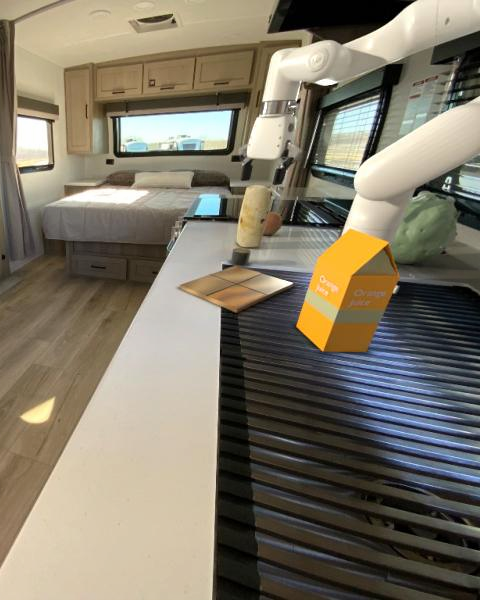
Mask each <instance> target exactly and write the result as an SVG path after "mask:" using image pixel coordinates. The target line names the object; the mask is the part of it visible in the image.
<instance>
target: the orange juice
mask: <svg viewBox="0 0 480 600" xmlns="http://www.w3.org/2000/svg"><path fill="white" fill-rule="evenodd" d="M341 235H342V234H341ZM341 235H340V237H339V238H338V239H337V240H336V241H335V242H333V244H331V246H329V247H328V248H327V249H326V250H325V251H324V252H323V253H322V254H321V255H320V256H319V257H318V258H317V261H316V263H315V267H314V269H313V273H312V276H311V279H310V282H309V285H308V288H307V291H306V294H305V297H304V302H303V304H302V307H301V310H300V313H299V316H298V319H297V323H296V325H295V326H296V328H297V329H298V330H299V331H300V332H301V333H302V334H303V335H304V336H305V337H307V338H308V339H309V341H311V342H312V343H313V344H314V345H315V346H316V347H317V348H318V349H319V350H320V351H322V352H323V353H324V352H325V353H367V351H368V349H369V347H370V344H371V342H372V340H373V338H374V337H375V334H376V331H377V329H378V327H379V325H380V324H381V321H382V319H383V316H384V314H385V312H386V309H387V307H388V304H389V302H390V300H391V298H392V295H393V291H394V289H395V287H396V285H397V284H398V282H399V280H400V277H401V275H399V272H398V269H397V265H396V262H394V259H393V256H392V253H391V250H390V247H389V244H388V243H389V242H387V241H384V240H381V239H378V238H375V237H373V236H370V235H367V234H364V233H361V232H359V231H356V230H353V229H349V230H348V231H347V232H346V233H344V234H343V235H342V236H341Z"/></svg>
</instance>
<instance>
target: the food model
mask: <svg viewBox="0 0 480 600" xmlns="http://www.w3.org/2000/svg"><path fill="white" fill-rule="evenodd" d="M272 197H273V189H272V188H270V187H267V186H265V185H263V184H262V185H260V184H253V185H248V186H247V187H246V189H245V193H244V196H243V200H242V203H241V208H240V212H239V217H238V222H237V228H236V242H237V244H238V245H239V246H240V247H241V248H254V249H255V248H258V247H260V246H261V243H262V240H263V236H264V235H263V233H264V229H265V225H266V220H267V217H268V212H270V206H271V202H272V201H271V200H272Z"/></svg>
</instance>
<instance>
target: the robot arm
mask: <svg viewBox="0 0 480 600" xmlns="http://www.w3.org/2000/svg"><path fill="white" fill-rule="evenodd" d="M479 31H480V0H416V1H414V2H412V3H411V4H409V5H407V6H406V7H405V8H403V10H402V11H400V12H399V13H398V14H397V15H396V16H395V17H394V18H393V19H391V20H390V21H388V23H386V24H385V25H383V26H382V27H380V28H378V29H376V30H374V31H372V32H370V33H368V34H366V35H363V36H360V37H359V38H356V39H353V40H351V41H349V42H346V43H343V44H341V43H339V42H337V41H335V40H333V39H325V40H320V41H316V42H314V43H311V44H307V45H304V46H300V47H289V48H283V49H279V50H277V51H275V52H274V53H273V54H272V56H271V58H270V62H269V66H268V70H267V76H266V81H265V86H264V90H263V95H262V99H261V100H262V101H261V105H260V110H259V115H258V117H256V119H255V121H254V124H253V127H252V130H251V132H250V136H249V140H248V142H247V143H245V144H243V145H241V146H240V147H239V148H238V150H237V151H238V156H239V157H238V158H239V160H240V162H241V166H242V170H241V175H240V181H241V182H247V181H250V180H251V178H252V172H253V163H254V162H255V161H256V160H263V161H264V160H267V161H275V163H276V164H277V167H278V168H276V169H275V172H274V175H273V179H272V185H273V186H278V185H280V186H281V185H282V184H283V183H284V181H285V178H286V174H287V169H289V168H290V167H291V166H292V165H293V164H294V163H295V162H296V161H297V159H298V158H299V157H300V156H301V154H302V153H303V149H301V148H300V147H299V146H297V145H296V144H294V142H295V135H296V128H297V127H296V126H297V116H296V115H294V114H295V111H298V110H299V109H300V107H301V104H300V103H298V102H297V101H298V97H299V92H300V88H301V84H302V82H303V83H304V82H305V83H312V84H317V85H319V86H329V85H334V84H337V83H338V84H339V83H341V82H344V81H346V80H350V79H352V78H356V77H358V76H361V75H364V74H368V73H369V72H372V71H374V70H377V69H380V68H382V67H384V66H386V65H389V64H392V63H395V62H398V61H400V60H403V59H404V58H407V57H409V56H411V55H414V54H416V53H419V52H422V51H425V50H428V49H430V48H434V47H436V46H438V45H442V44H444V43H447V42H451V41H454V40H456V39H459V38H461V37H465V36H468V35H470V34H474V33H476V32H479ZM479 156H480V95H479V96H477V97H475V98H474V99H472V100H471V101H469V102H467V103H465V104H461V105H458V106H454V107H452V108H449V109H448V110H446V111H444V112H441V113H440V114H438V115H437V116H434V118H432V119H429V121H427V122H425V123H423V124H422V125H421V126H419V127H418V128H416V129H414V130H413V131H411V132H410V133H408V134H406V135H404V136H403V137H402V138H400V139H398V140H397V141H394V142H393V143H392V144H390V145H389V146H386V147H385V148H384V149H382V150H380V151H379V152H377V153H375V154H374V155H372V156H370V157H369V158H368V159H366V160H365V161H364V162H363V163H362V164H361V165H360V167H359V168H358V169H357V171H356V173H355V175H354V177H353V178H354V179H353V186H354V189H355V192H356V194H355V197H354V199H353V201H352V204H351V206H350V210H349V212H348V215H347V218H346V221H345V224H344V226H343V230H342V233H341V235H340V237H341V236H342V235H343V234H344V233H346V232H347V231H348V230H349V229H353V230H356V231H359V232H361V233H364V234H367V235H370V236H373V237H375V238H378V239H381V240H384V241H387V242H389V243H388V244H389V247H391V245H392V242H393V240H394V237H395V235H396V233H397V230H398V228H399V226H400V223H401V221H402V219H403V216H404V214H405V212H406V209H407V207H408V205H409V202H410V200H411V199H412V198H413V195H414V193H415V191H416V189H417V188H419V187H421V186H423V185H425V184H427V183H430V182H431V181H433V180H435V179H437V178H439V177H440V176H443V175H444V174H447V173H448V172H450V171H452V170H455V169H456V168H458V167H460V166H462V165H464V164H466V163H467V162H469V161H471V160H473V159H475V158H477V157H479ZM399 289H400V285H397V284H396V287H395V289H394V291H393V293H392V295H396V294H397V293H398V292H399Z"/></svg>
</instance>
